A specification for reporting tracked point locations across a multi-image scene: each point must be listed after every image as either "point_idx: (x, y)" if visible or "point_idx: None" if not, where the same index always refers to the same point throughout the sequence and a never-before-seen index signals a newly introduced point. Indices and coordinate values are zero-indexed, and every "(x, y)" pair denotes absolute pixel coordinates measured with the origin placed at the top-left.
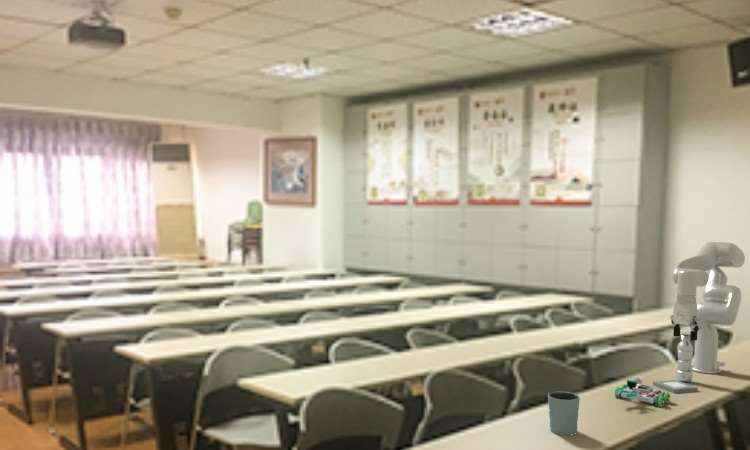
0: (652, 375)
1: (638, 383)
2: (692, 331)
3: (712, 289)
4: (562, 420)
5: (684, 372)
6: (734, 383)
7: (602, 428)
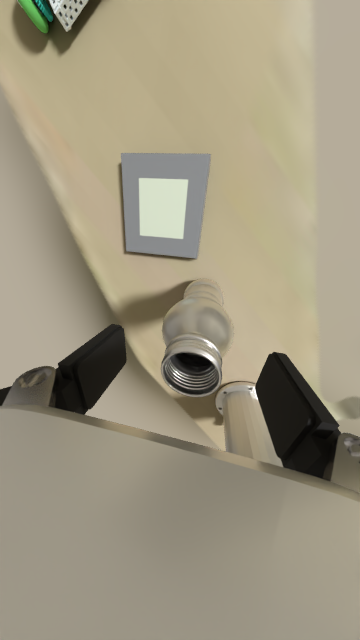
0: (288, 264)
1: None
2: (62, 371)
3: None
4: None
5: (189, 286)
6: (158, 367)
7: None
